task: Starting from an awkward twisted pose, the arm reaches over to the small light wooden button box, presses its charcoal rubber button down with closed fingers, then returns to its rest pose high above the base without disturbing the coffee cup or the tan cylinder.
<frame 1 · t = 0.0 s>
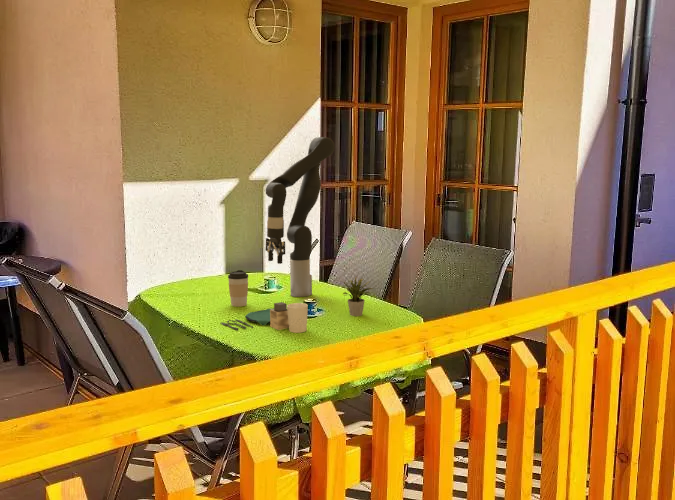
hand: (275, 262, 319), 17 cm above the table, tool pointing down, fingers open, 8 cm apart
tan cylinder: (297, 331, 270), on the table
cutlery set: (259, 322, 285), on the table
house plant: (354, 315, 292), on the table
button box: (280, 327, 275), on the table
button cap: (280, 306, 274), point 8 cm above the table, slide at 0.0 cm
coffee cup: (239, 305, 312), on the table
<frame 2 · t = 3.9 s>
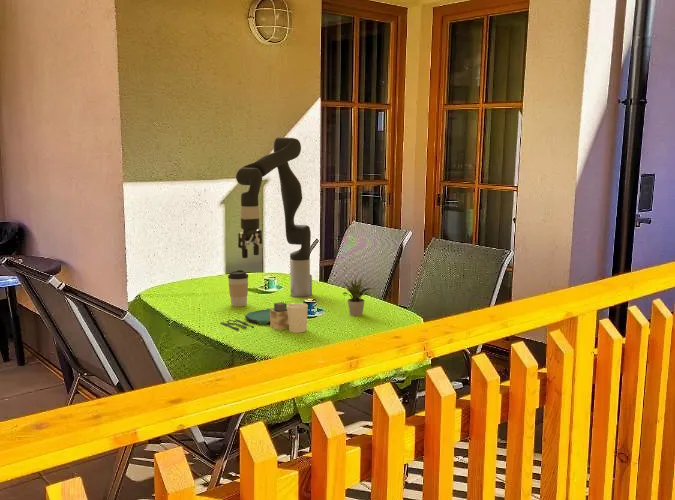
hand: (250, 256, 287), 25 cm above the table, tool pointing down, fingers open, 8 cm apart
nothing on the table moved.
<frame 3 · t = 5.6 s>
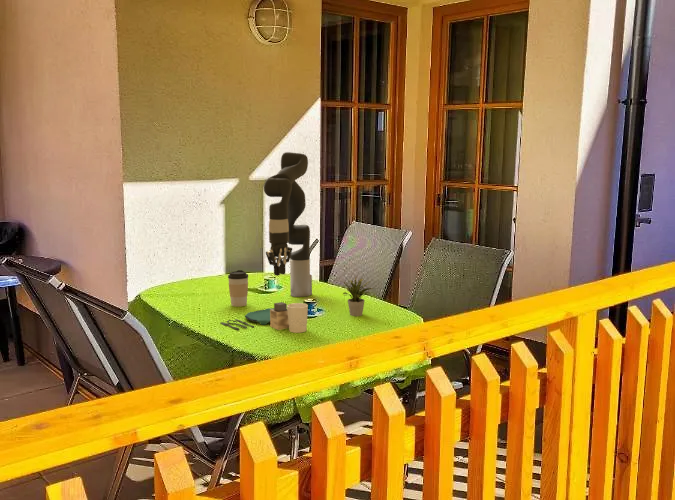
hand: (279, 274, 271), 21 cm above the table, tool pointing down, fingers closed
nothing on the table moved.
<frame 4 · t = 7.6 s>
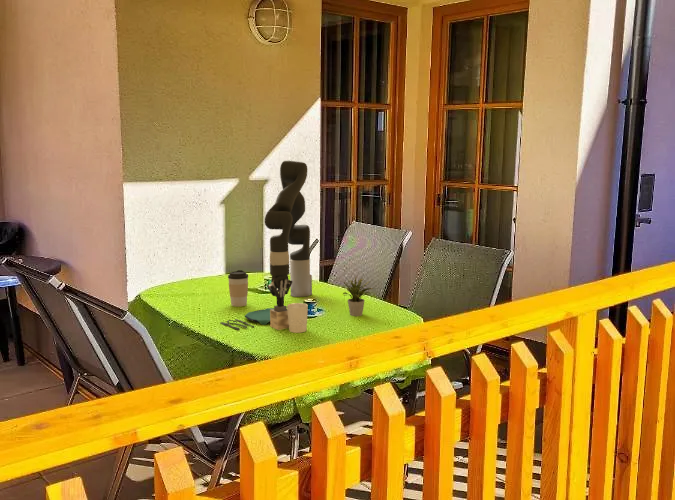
hand: (280, 306, 273), 8 cm above the table, tool pointing down, fingers closed
button cap: (280, 309, 274), point 7 cm above the table, slide at 1.0 cm, touching gripper
everything else where it was.
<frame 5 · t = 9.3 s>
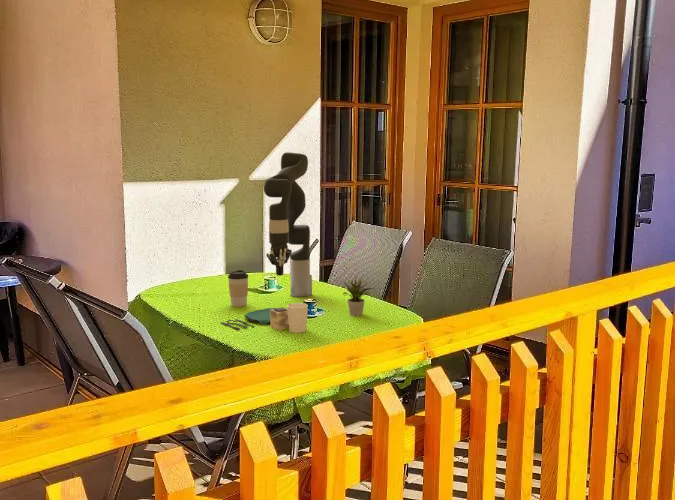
hand: (279, 275, 272), 21 cm above the table, tool pointing down, fingers closed
button cap: (280, 312, 274), point 6 cm above the table, slide at 2.2 cm
everything else where it was.
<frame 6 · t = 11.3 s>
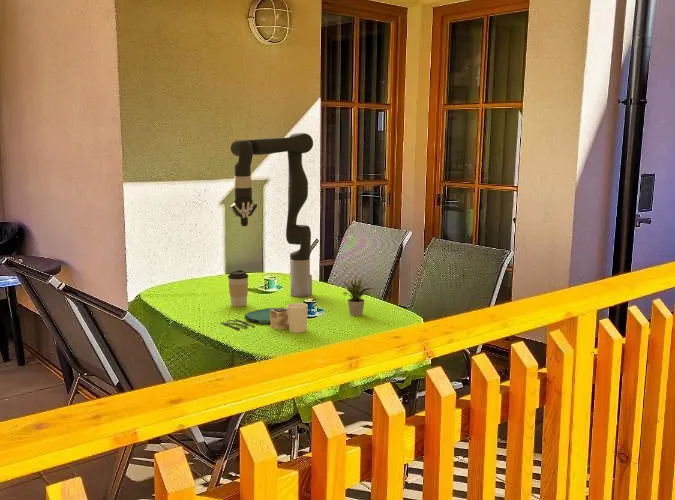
hand: (244, 226, 307), 35 cm above the table, tool pointing down, fingers closed
nothing on the table moved.
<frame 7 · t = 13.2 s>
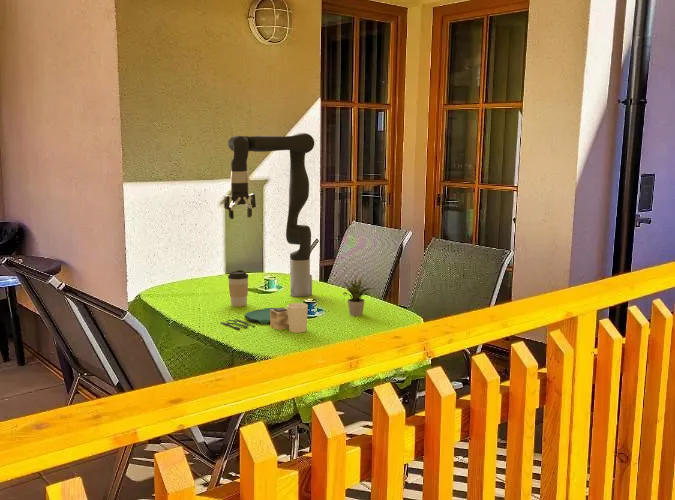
hand: (240, 218, 311), 38 cm above the table, tool pointing down, fingers open, 8 cm apart
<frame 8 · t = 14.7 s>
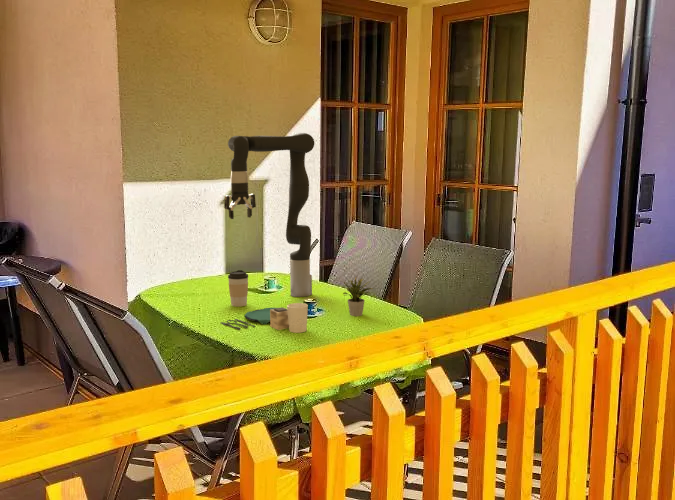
hand: (240, 218, 311), 38 cm above the table, tool pointing down, fingers open, 8 cm apart
at the end: button cap slide at 2.2 cm; coffee cup moved 0.2 cm from its start; tan cylinder moved 0.2 cm from its start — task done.
